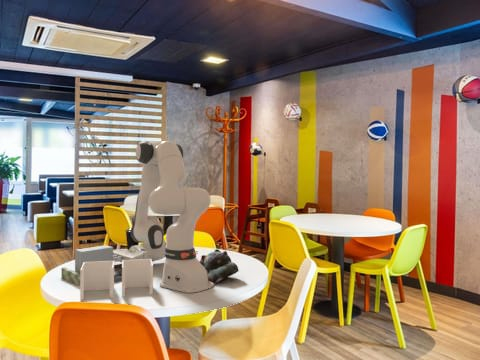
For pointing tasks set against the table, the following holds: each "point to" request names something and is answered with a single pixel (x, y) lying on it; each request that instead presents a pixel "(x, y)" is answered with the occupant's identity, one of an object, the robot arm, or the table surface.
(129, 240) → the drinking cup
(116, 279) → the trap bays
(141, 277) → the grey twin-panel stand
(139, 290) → the table surface
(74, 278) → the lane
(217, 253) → the dark grey lumpy object
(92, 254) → the slate block
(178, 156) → the robot arm
